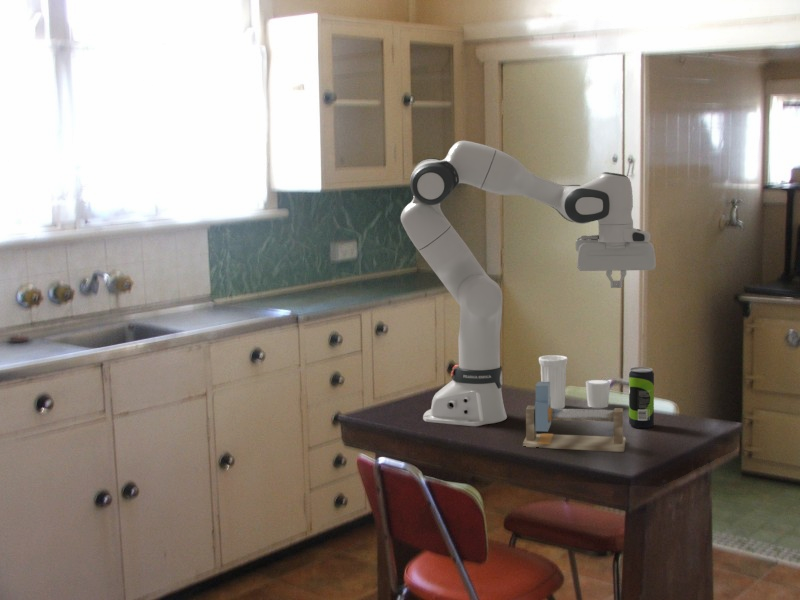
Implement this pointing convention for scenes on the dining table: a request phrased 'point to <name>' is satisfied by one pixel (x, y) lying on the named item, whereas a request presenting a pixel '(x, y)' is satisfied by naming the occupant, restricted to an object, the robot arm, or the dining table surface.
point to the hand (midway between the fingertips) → (616, 287)
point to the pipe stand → (576, 440)
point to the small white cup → (598, 393)
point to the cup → (554, 377)
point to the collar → (542, 406)
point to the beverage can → (641, 397)
